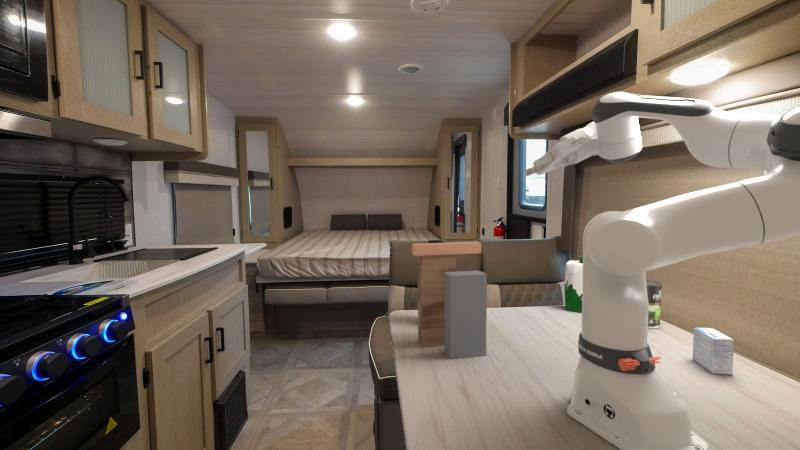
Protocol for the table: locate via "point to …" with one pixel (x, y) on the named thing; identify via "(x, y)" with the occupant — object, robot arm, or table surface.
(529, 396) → the table surface
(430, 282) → the walnut post
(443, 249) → the rail
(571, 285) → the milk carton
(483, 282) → the gray block
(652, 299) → the coffee can
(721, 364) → the medicine box
